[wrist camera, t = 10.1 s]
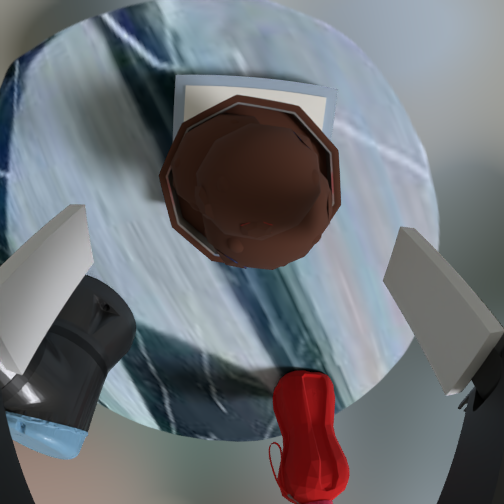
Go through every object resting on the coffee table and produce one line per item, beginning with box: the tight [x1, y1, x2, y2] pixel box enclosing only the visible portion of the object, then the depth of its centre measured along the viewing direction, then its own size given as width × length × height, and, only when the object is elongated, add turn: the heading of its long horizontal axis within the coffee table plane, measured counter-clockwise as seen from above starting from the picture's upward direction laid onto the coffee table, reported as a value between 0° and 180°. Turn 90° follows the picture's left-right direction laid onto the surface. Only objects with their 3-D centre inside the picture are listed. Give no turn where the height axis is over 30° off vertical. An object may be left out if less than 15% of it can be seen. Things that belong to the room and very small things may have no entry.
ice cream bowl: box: [159, 95, 341, 270], centre depth 19 cm, size 11×11×15 cm
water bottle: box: [269, 370, 349, 504], centre depth 38 cm, size 9×11×25 cm
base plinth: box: [173, 75, 338, 141], centre depth 28 cm, size 14×14×4 cm
